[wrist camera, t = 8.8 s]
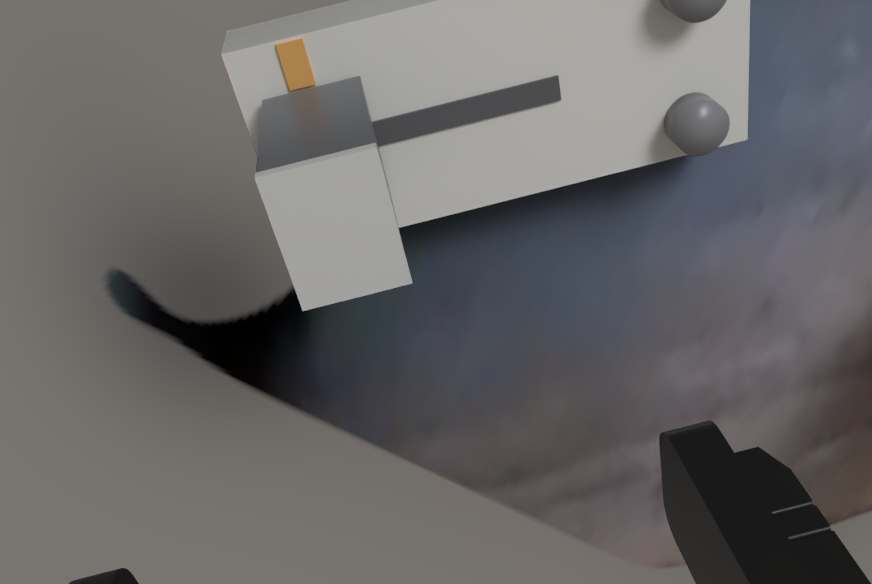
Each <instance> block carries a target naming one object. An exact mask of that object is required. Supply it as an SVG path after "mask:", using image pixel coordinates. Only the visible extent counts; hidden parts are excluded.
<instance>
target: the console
mask: <svg viewBox="0 0 872 584" xmlns="http://www.w3.org/2000/svg"><path fill="white" fill-rule="evenodd" d="M749 32H750V0H350V1H346V2H342V3H338V4H334V5H330V6H326V7H323V8H319V9H314V10H310V11H306V12H302V13H298V14H294V15H290V16H286V17H282V18H278V19H274V20H270V21H266V22H262V23H258V24H254V25H250V26H246V27H242V28H238V29H234V30H230V31H227V32H226V36H225V40H224V45H223V49H222V53H221V56H222V58H223V61H224V64H225V67H226V70H227V72H228V75H229V78H230V81H231V84H232V86H233V89H234V92H235V95H236V98H237V100H238V103H239V106H240V109H241V112H242V115H243V117H244V120H245V123H246V126H247V129H248V131H249V134H250V137H251V140H252V142H253V145H254V148H255V151H256V154H258V142H259V131H260V119H261V108H262V100H265V99H269V98H273V97H277V96H281V95H285V94H289V93H293V92H297V91H301V90H305V89H309V88H313V87H317V86H321V85H325V84H329V83H333V82H337V81H341V80H345V79H349V78H353V77H357V76H360V78H361V82H362V86H363V90H364V93H365V97H366V101H367V105H368V109H369V112H370V116H371V120H372V124H373V128H374V132H375V135H376V139H377V143H378V147H379V151H380V155H381V158H382V162H383V166H384V170H385V174H386V178H387V181H388V185H389V189H390V193H391V197H392V201H393V206H394V210H395V214H396V218H397V223H398V227H399V228H401V227H405V226H408V225H412V224H416V223H420V222H424V221H428V220H432V219H436V218H440V217H444V216H448V215H452V214H456V213H460V212H464V211H468V210H472V209H476V208H480V207H484V206H487V205H491V204H495V203H499V202H503V201H507V200H511V199H515V198H519V197H523V196H527V195H531V194H535V193H539V192H543V191H547V190H551V189H555V188H559V187H563V186H566V185H570V184H574V183H578V182H582V181H586V180H590V179H594V178H598V177H602V176H606V175H610V174H614V173H618V172H622V171H626V170H630V169H634V168H638V167H642V166H645V165H649V164H653V163H657V162H661V161H665V160H669V159H673V158H677V157H681V156H685V155H692V156H701V155H705V154H708V153H710V152H712V151H713V150H715V149H716V148H717V147H721V146H724V145H728V144H732V143H736V142H740V141H744V140H747V131H748V81H749Z"/></svg>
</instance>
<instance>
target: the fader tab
mask: <svg viewBox="0 0 872 584" xmlns="http://www.w3.org/2000/svg"><path fill="white" fill-rule="evenodd" d="M254 179H255V181H256V184H257V187H258V190H259V192H260V195H261V198H262V201H263V203H264V206H265V209H266V212H267V214H268V217H269V220H270V223H271V225H272V228H273V231H274V234H275V236H276V239H277V242H278V244H279V247H280V250H281V253H282V255H283V258H284V261H285V264H286V266H287V269H288V272H289V275H290V277H291V280H292V283H293V286H294V288H295V291H296V294H297V297H298V299H299V302H300V305H301V308H302V310H303V311H306V310H310V309H313V308H317V307H321V306H325V305H329V304H333V303H337V302H341V301H345V300H349V299H353V298H357V297H361V296H365V295H369V294H372V293H376V292H380V291H384V290H388V289H392V288H396V287H400V286H404V285H408V284H412V279H411V275H410V271H409V267H408V264H407V260H406V256H405V252H404V248H403V244H402V240H401V235H400V231H399V227H398V223H397V218H396V214H395V210H394V206H393V201H392V197H391V193H390V189H389V185H388V181H387V178H386V174H385V170H384V166H383V162H382V158H381V155H380V151H379V147H378V143H377V139H376V135H375V132H374V128H373V124H372V120H371V116H370V112H369V109H368V105H367V101H366V97H365V93H364V90H363V86H362V82H361V78H360V76H357V77H353V78H349V79H345V80H341V81H337V82H333V83H329V84H325V85H321V86H317V87H313V88H309V89H305V90H301V91H297V92H293V93H289V94H285V95H281V96H277V97H273V98H269V99H265V100H262V108H261V119H260V131H259V142H258V154H257V165H256V173H255V177H254Z"/></svg>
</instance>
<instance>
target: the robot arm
mask: <svg viewBox="0 0 872 584" xmlns="http://www.w3.org/2000/svg"><path fill="white" fill-rule="evenodd" d="M659 442H660V458H661V472H662V487H663V500H664V507H665V512H666V516H667V519H668V523H669V526H670V529H671V531H672V534H673V537H674V539H675V541H676V543H677V546H678V548H679V550H680V552H681V554H682V556H683V558H684V560H685V562H686V564H687V566H688V568H689V570H690V572H691V574H692V576H693V578H694V580H695V582H696V584H871V583H870V582H869V580H868V579H867V577H866V576H865V574H864V573H863V572H862V570H861V569H860V567H859V566H858V565H857V563H856V562H855V560H854V559H853V557H852V556H851V555H850V553H849V552H848V550H847V549H846V548H845V546H844V545H843V543H842V542H841V540H840V539H839V538H838V536H837V535H836V533H835V532H834V531H831V529H830V526H829V523H828V522H827V520H826V519H825V518H824V516H823V515H822V513H821V512H820V511H819V509H818V508H817V506H814V505H813V503H812V499H811V498H810V496H809V495H808V493H807V492H806V491H805V489H804V488H803V486H802V485H801V483H800V482H799V481H798V479H797V478H796V476H795V475H794V474H793V472H792V471H791V469H789V468H788V467H786V466H785V465H784V464H782V463H781V462H779V461H778V460H776V459H775V458H773V457H772V456H771V455H769V454H768V453H766V452H765V451H763V450H762V449H761V448H759V447H756V448H752V449H748V450H744V451H740V452H736V453H734V452H733V450H732V449H731V447H730V445H729V444H728V442H727V441H726V439H725V438H724V436H723V435H722V433H721V431H720V430H719V428H718V427H717V426H716V425H715V423H713V422H712V421H705V422H701V423H698V424H694V425H690V426H686V427H682V428H678V429H674V430H670V431H666V432H662V433H661V434H660V438H659ZM69 584H138V582H137V581H136V579H135V578H134V576H133V575H132V574H131V572H129V570H127V569H125V568H121V569H117V570H113V571H109V572H105V573H101V574H97V575H94V576H90V577H86V578H82V579H78V580H74V581H72V582H70V583H69Z"/></svg>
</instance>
